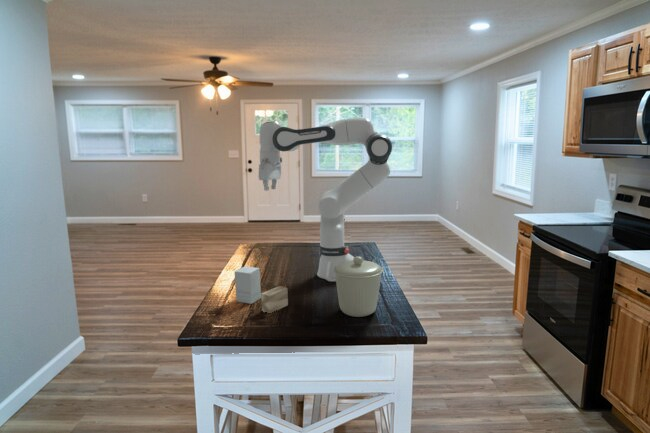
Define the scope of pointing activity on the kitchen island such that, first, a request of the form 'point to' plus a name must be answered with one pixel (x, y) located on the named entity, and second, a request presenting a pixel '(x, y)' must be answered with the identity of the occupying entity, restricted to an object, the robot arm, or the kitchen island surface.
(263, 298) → the block
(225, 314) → the kitchen island surface
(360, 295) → the canister
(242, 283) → the supplement box
